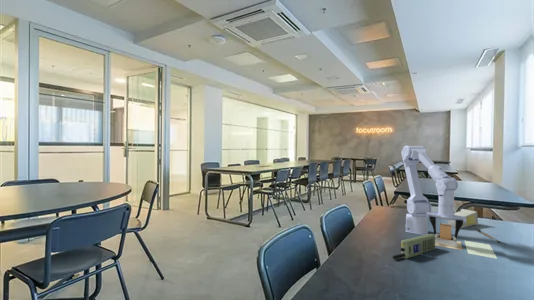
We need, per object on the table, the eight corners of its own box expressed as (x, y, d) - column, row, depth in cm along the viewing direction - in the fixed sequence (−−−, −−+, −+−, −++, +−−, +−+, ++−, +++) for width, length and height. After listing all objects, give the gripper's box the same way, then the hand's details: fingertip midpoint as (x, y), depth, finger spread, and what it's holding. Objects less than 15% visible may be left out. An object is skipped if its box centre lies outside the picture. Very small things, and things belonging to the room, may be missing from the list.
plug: (439, 243, 119) (440, 225, 119) (439, 240, 122) (440, 223, 122) (450, 245, 117) (451, 226, 117) (450, 242, 120) (450, 224, 120)
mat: (467, 254, 108) (468, 253, 108) (464, 241, 123) (464, 240, 123) (497, 260, 103) (497, 258, 103) (489, 245, 118) (489, 244, 118)
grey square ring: (434, 243, 118) (434, 238, 118) (434, 238, 125) (434, 233, 125) (456, 247, 114) (456, 241, 114) (455, 242, 121) (455, 236, 121)
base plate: (428, 245, 118) (428, 244, 118) (429, 237, 128) (429, 236, 128) (462, 251, 111) (462, 250, 111) (460, 243, 121) (460, 241, 121)
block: (459, 229, 142) (459, 214, 142) (443, 225, 150) (443, 211, 149) (478, 225, 151) (478, 211, 151) (462, 221, 158) (462, 208, 158)
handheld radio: (437, 251, 112) (398, 262, 100) (429, 248, 115) (390, 259, 103) (436, 235, 112) (397, 244, 101) (428, 233, 115) (390, 242, 103)
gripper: (426, 204, 120) (426, 234, 120) (467, 208, 112) (466, 241, 112) (427, 201, 126) (426, 230, 126) (465, 205, 118) (465, 236, 118)
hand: (445, 235), depth 120 cm, fingers open, 7 cm apart
